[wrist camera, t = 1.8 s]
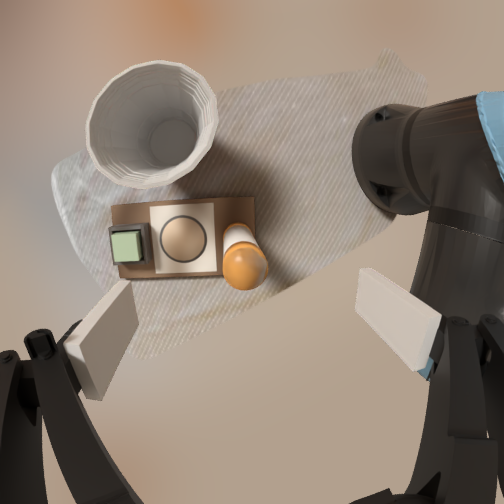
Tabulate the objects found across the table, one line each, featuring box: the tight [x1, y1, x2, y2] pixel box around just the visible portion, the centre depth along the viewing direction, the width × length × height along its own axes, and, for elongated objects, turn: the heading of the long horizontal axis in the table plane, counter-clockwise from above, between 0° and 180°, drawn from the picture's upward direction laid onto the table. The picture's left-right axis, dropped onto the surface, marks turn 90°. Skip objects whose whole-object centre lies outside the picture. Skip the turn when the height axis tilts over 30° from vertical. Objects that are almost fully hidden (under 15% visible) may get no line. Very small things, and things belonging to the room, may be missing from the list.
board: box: [109, 196, 255, 278], centre depth 30 cm, size 17×9×3 cm, turn 91°
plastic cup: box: [86, 60, 219, 190], centre depth 23 cm, size 11×11×12 cm
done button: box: [111, 230, 144, 262], centre depth 28 cm, size 3×3×2 cm
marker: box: [223, 222, 268, 290], centre depth 26 cm, size 3×3×12 cm
